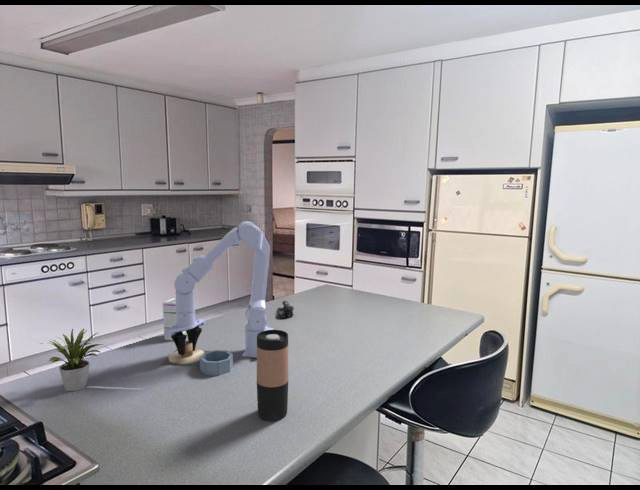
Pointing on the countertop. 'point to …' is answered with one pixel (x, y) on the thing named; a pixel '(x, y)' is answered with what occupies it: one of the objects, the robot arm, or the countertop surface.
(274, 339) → the travel mug
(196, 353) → the lid
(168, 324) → the syrup box
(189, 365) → the mat
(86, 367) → the house plant
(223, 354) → the bowl
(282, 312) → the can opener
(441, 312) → the countertop surface
